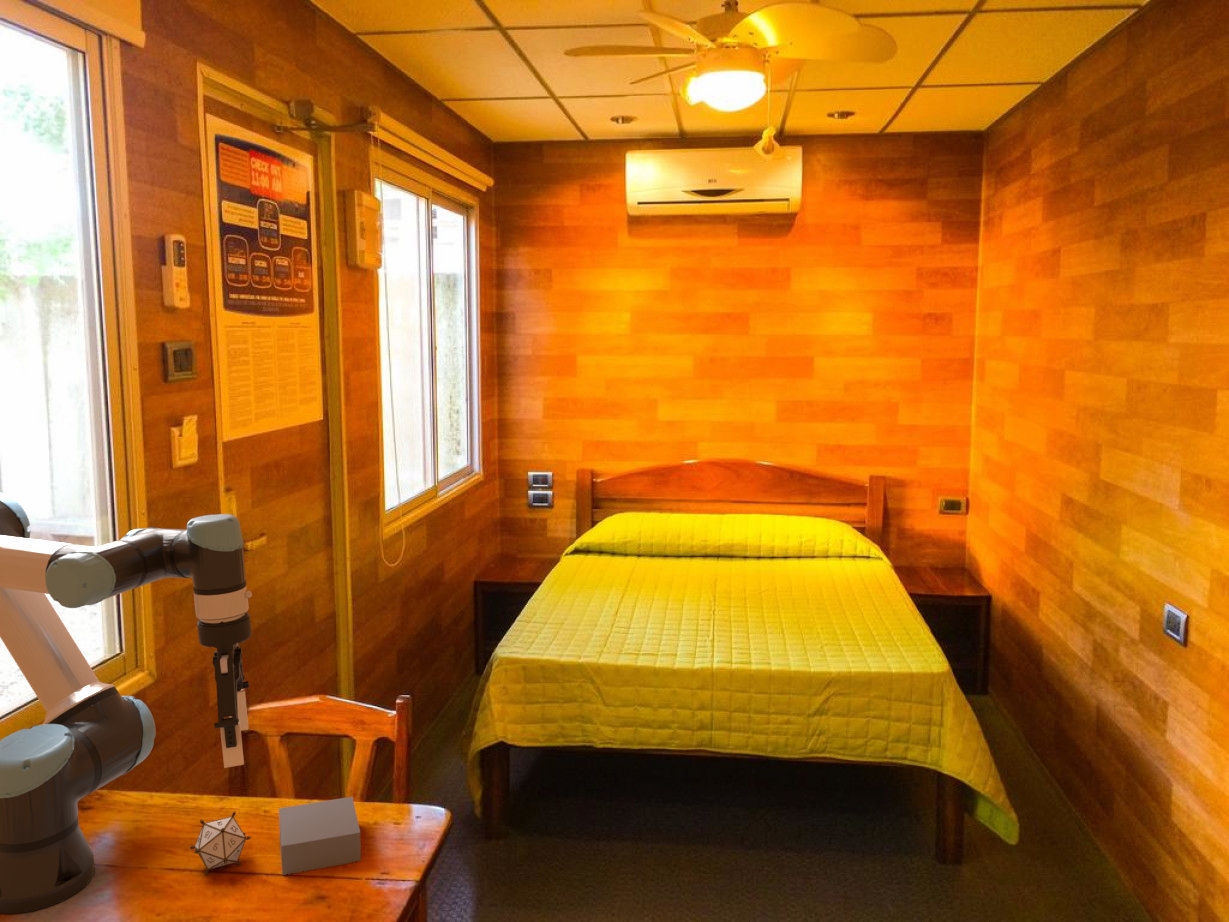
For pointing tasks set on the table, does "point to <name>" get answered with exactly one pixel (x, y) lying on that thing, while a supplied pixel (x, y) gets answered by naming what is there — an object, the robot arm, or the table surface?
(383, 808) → the table surface
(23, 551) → the robot arm
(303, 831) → the gray block
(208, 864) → the game die
